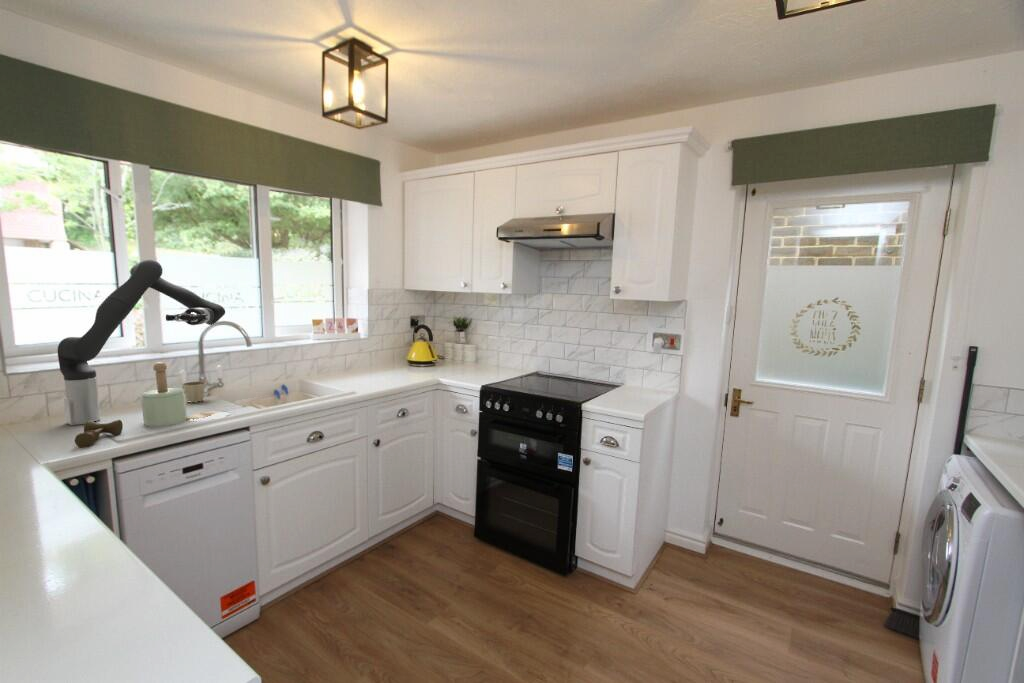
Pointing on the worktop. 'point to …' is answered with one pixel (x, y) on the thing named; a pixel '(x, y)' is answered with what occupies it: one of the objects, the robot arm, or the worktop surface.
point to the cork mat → (202, 415)
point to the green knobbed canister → (163, 401)
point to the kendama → (97, 432)
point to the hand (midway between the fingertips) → (178, 318)
